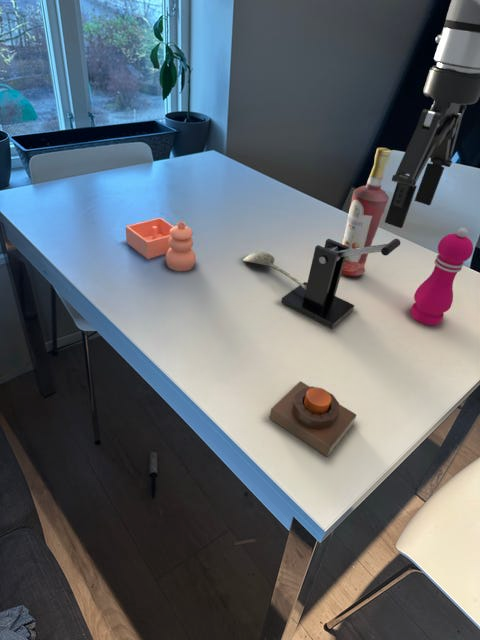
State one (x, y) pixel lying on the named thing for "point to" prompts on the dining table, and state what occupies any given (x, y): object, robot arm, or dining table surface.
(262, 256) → the soupspoon
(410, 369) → the dining table surface
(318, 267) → the lever bracket
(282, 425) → the button box
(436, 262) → the pepper mill
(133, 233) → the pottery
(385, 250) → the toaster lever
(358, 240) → the liquor
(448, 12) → the robot arm
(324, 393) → the button
